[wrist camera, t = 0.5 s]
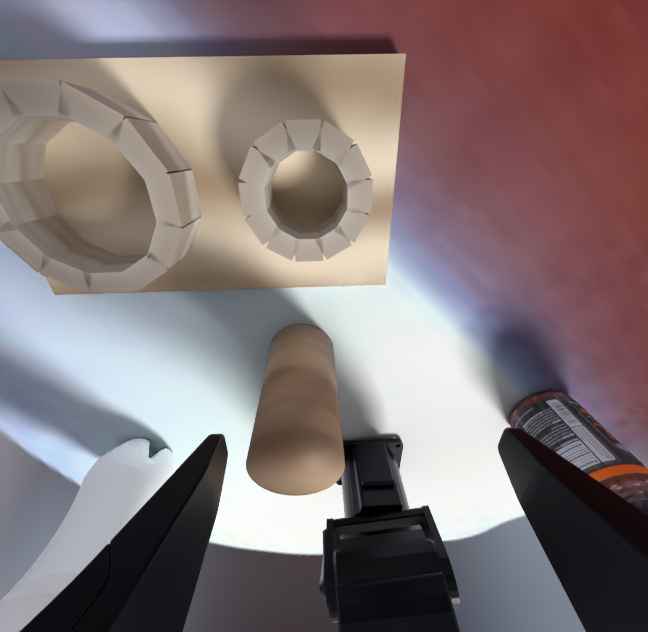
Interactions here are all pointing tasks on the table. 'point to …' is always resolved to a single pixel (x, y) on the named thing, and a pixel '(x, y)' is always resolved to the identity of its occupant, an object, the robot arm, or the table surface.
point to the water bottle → (88, 526)
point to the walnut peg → (298, 416)
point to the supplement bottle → (583, 444)
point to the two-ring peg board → (200, 170)
